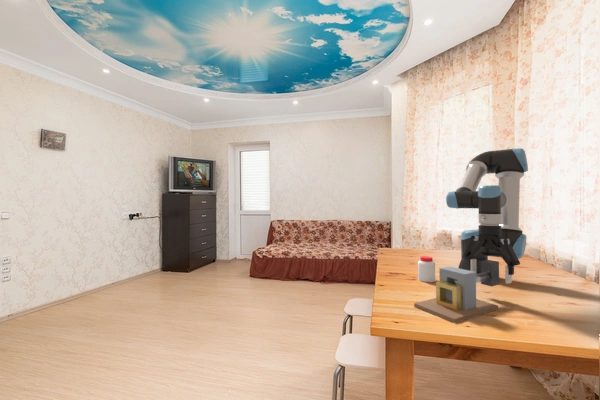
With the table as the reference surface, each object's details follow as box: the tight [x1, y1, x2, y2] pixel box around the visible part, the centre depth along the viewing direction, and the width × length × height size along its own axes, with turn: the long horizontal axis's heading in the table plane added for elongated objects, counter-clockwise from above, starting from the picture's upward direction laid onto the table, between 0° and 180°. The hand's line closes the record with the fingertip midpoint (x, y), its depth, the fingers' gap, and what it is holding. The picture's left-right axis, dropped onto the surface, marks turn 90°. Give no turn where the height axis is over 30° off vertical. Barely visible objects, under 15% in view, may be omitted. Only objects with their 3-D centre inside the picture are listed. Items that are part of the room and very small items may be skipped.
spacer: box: [435, 280, 462, 311], centre depth 104 cm, size 3×8×8 cm, turn 27°
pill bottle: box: [417, 255, 436, 283], centre depth 142 cm, size 8×8×11 cm
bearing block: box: [413, 266, 499, 324], centre depth 106 cm, size 24×16×14 cm, turn 117°
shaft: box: [452, 259, 500, 287], centre depth 111 cm, size 24×4×9 cm, turn 117°
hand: (490, 278), depth 116 cm, fingers open, 13 cm apart
